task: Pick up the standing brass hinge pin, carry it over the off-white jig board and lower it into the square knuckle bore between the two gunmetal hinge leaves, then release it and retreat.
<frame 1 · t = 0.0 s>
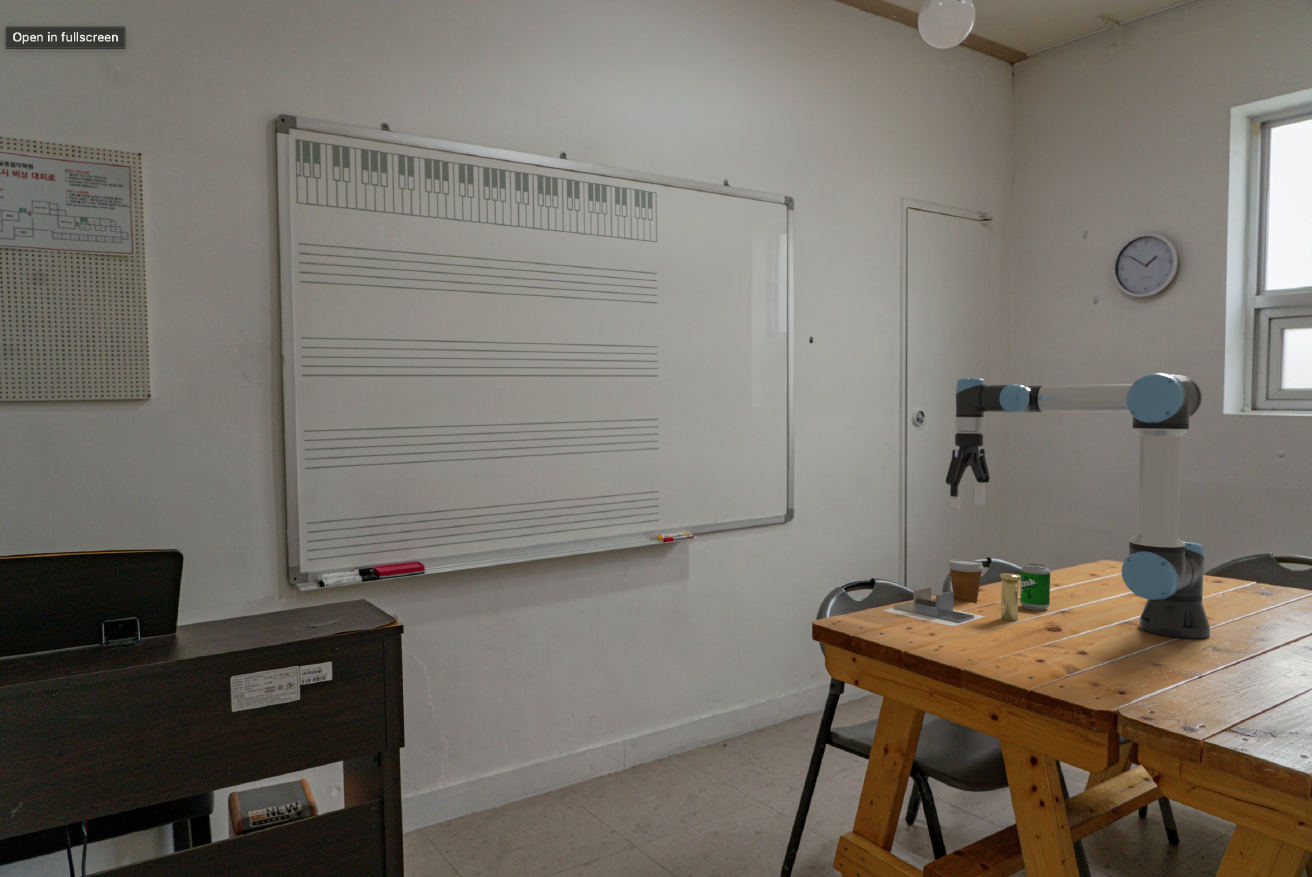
hand: (967, 506, 237), 28 cm above the table, fingers open, 13 cm apart
soda can: (1034, 608, 233), on the table
jig board: (933, 617, 221), on the table
hinge: (933, 613, 221), resting on jig board
disposable coffee cup: (965, 603, 238), on the table
pin: (1009, 624, 215), on the table
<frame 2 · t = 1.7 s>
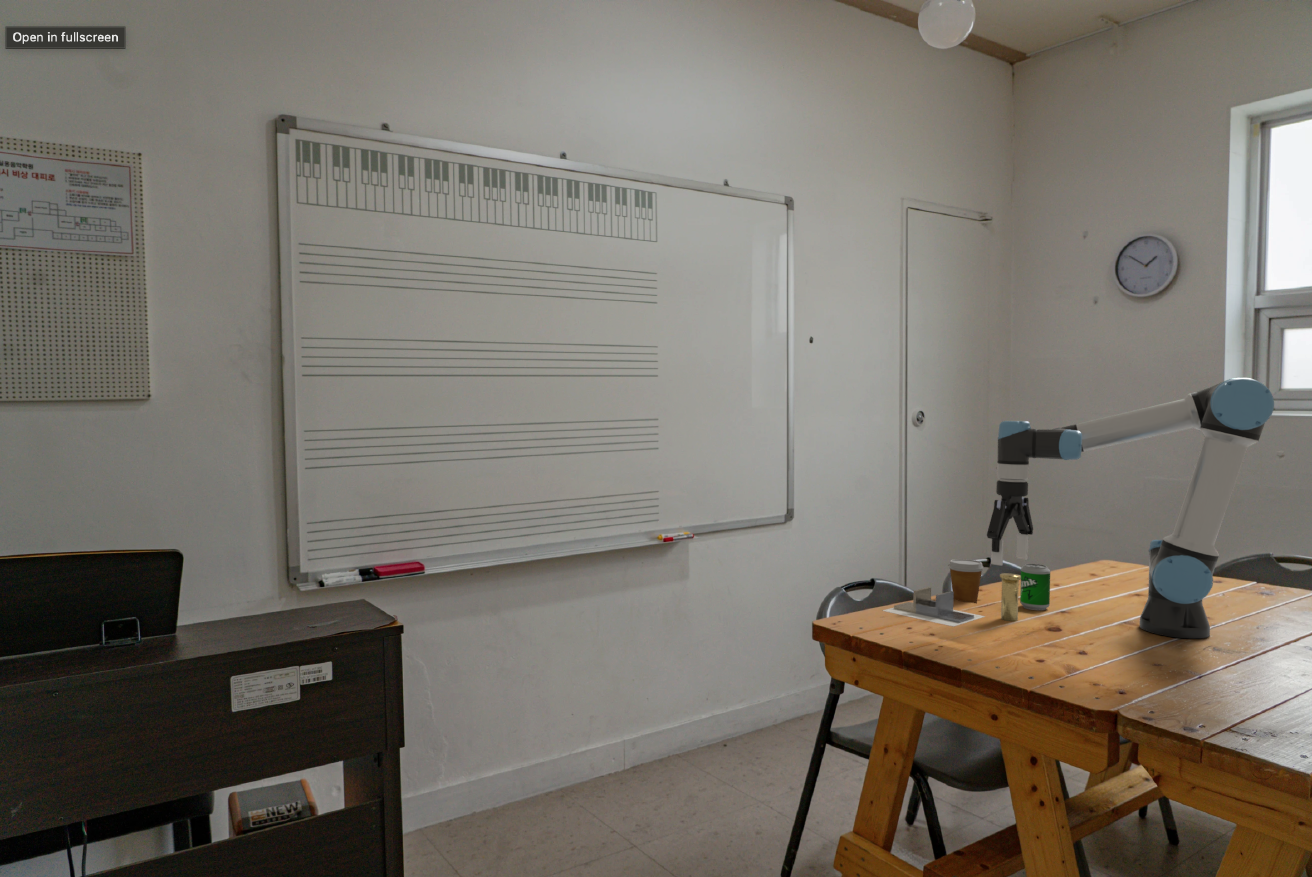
hand: (1009, 561, 215), 16 cm above the table, fingers open, 13 cm apart
nothing on the table moved.
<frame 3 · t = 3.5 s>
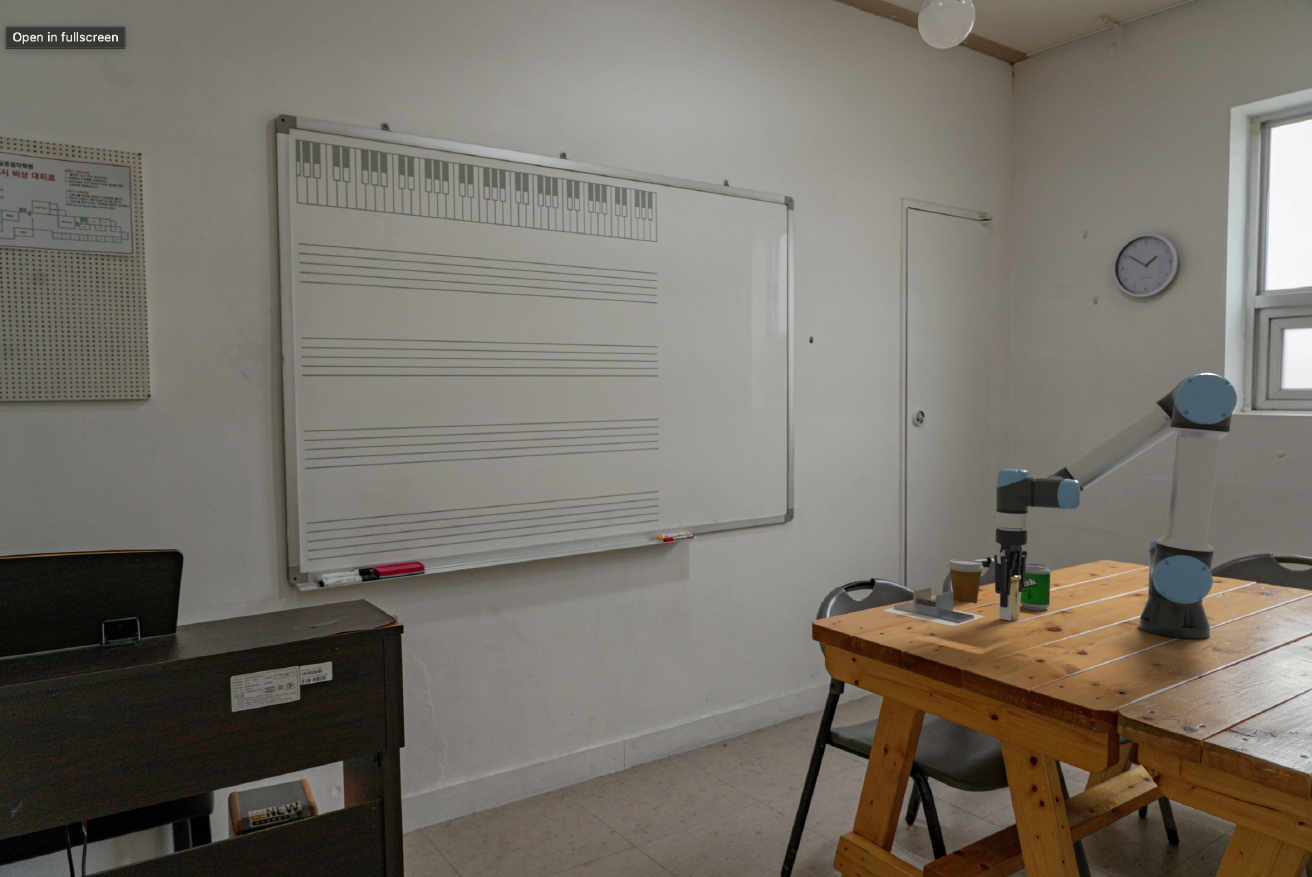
hand: (1009, 617, 215), 2 cm above the table, fingers closed on pin, 4 cm apart
pin: (1009, 623, 215), on the table, touching gripper
everything else where it was.
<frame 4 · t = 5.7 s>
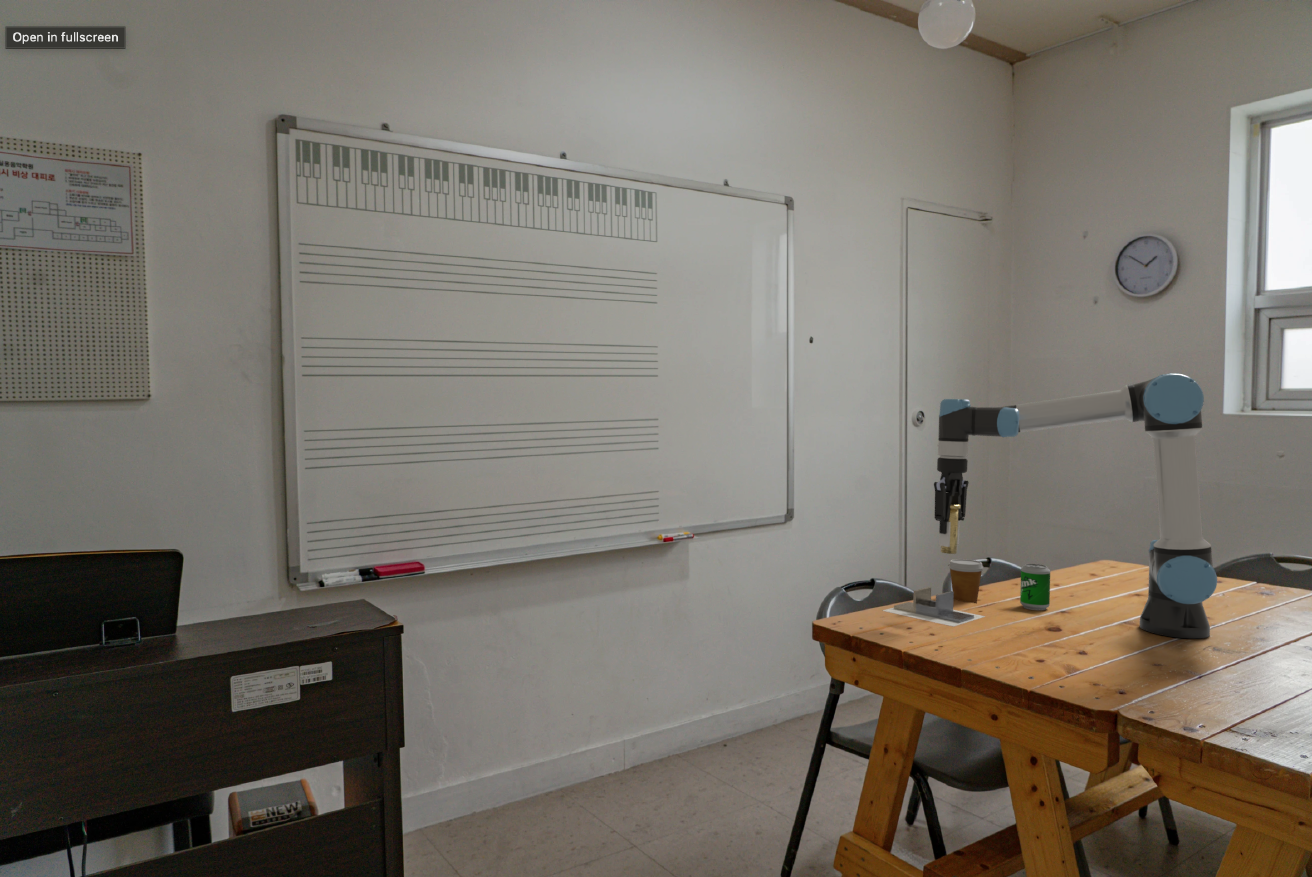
hand: (948, 545, 219), 20 cm above the table, fingers closed on pin, 4 cm apart
pin: (948, 552, 219), point 18 cm above the table, touching gripper
everything else where it was.
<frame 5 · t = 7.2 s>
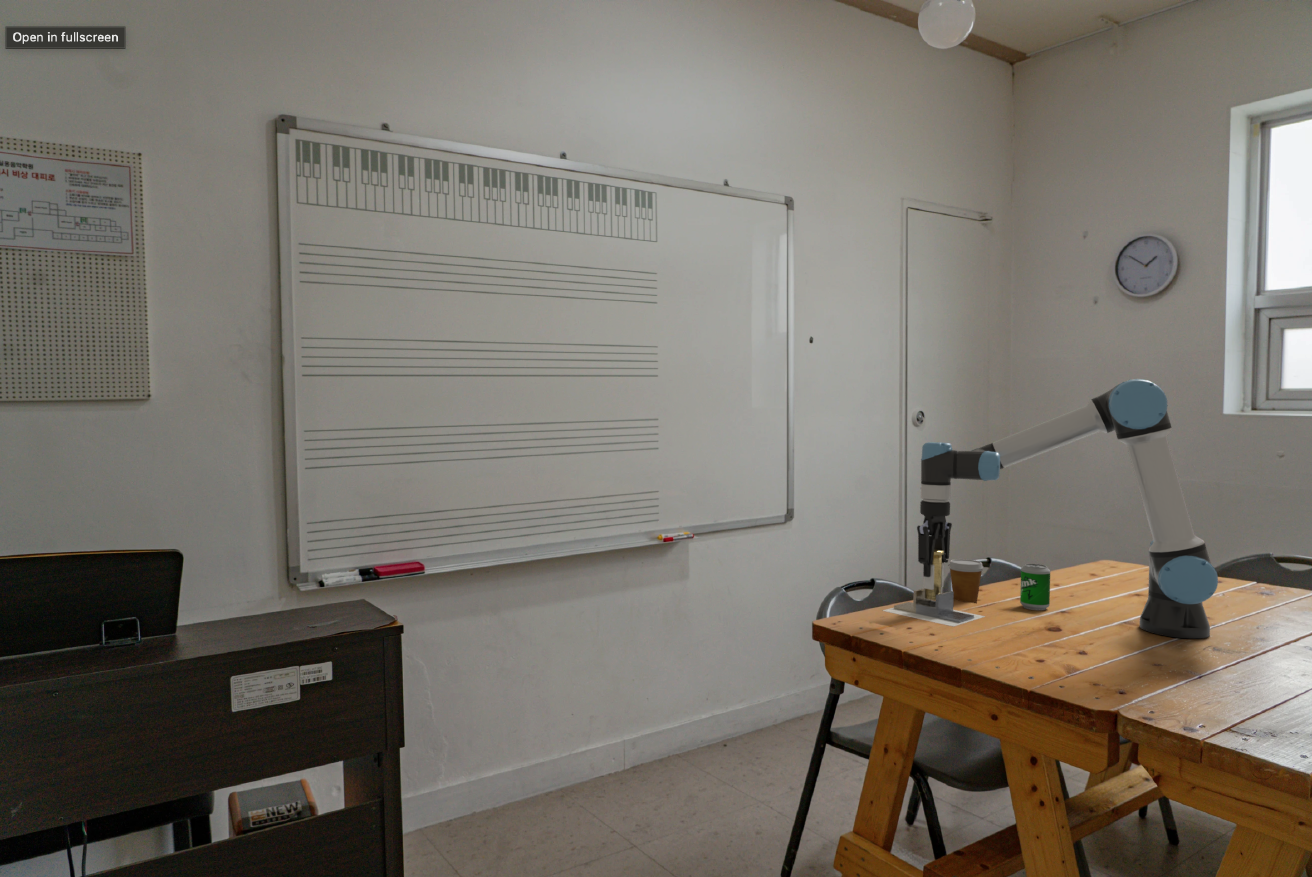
hand: (933, 587, 221), 8 cm above the table, fingers closed on pin, 4 cm apart
pin: (932, 598, 221), point 5 cm above the table, touching gripper
everything else where it was.
when the fingers open (5 cm above the table, at t = 8.0 s): pin drops 1 cm, resting on jig board.
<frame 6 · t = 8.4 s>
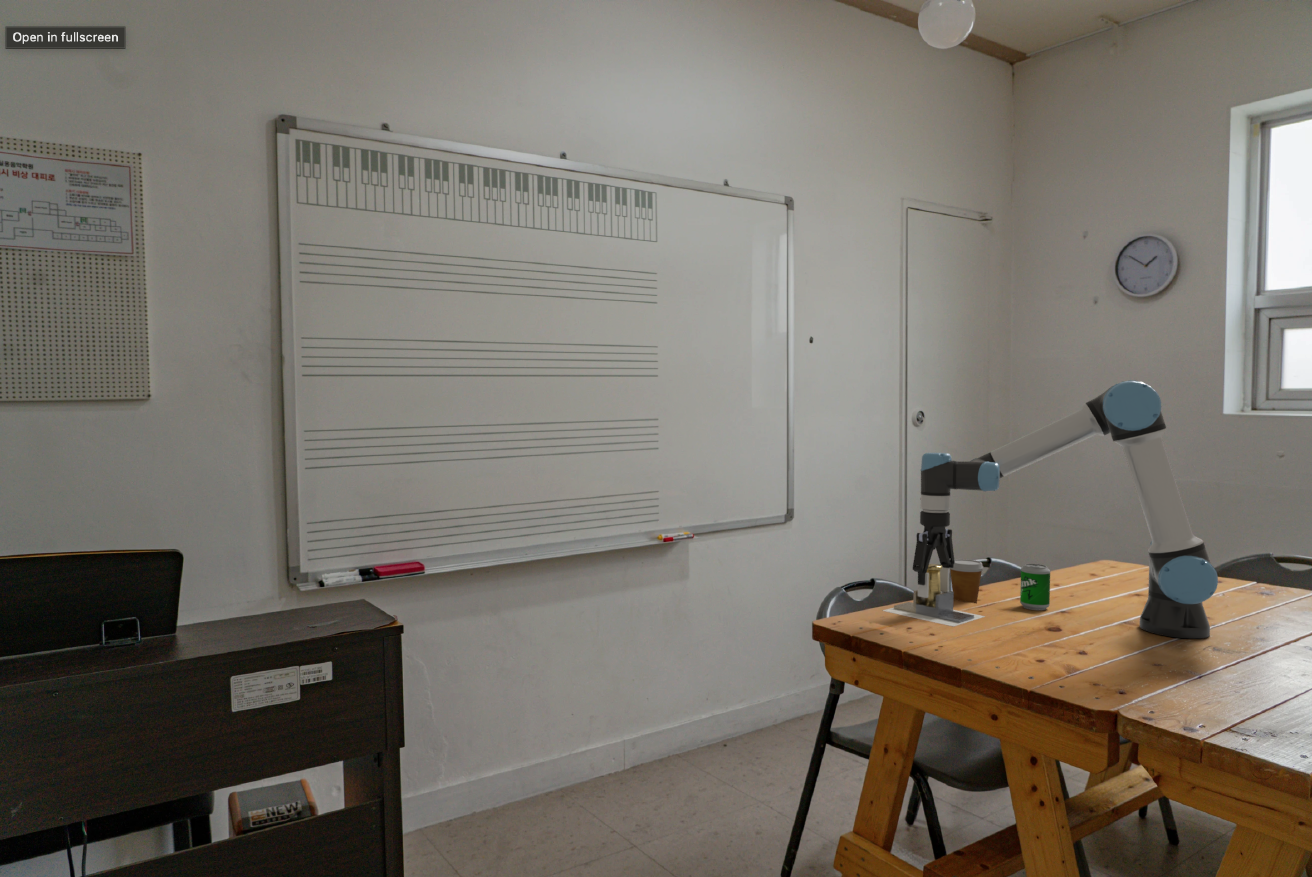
hand: (933, 594, 221), 6 cm above the table, fingers open, 9 cm apart
pin: (933, 613, 221), point 1 cm above the table, touching jig board
everything else where it was.
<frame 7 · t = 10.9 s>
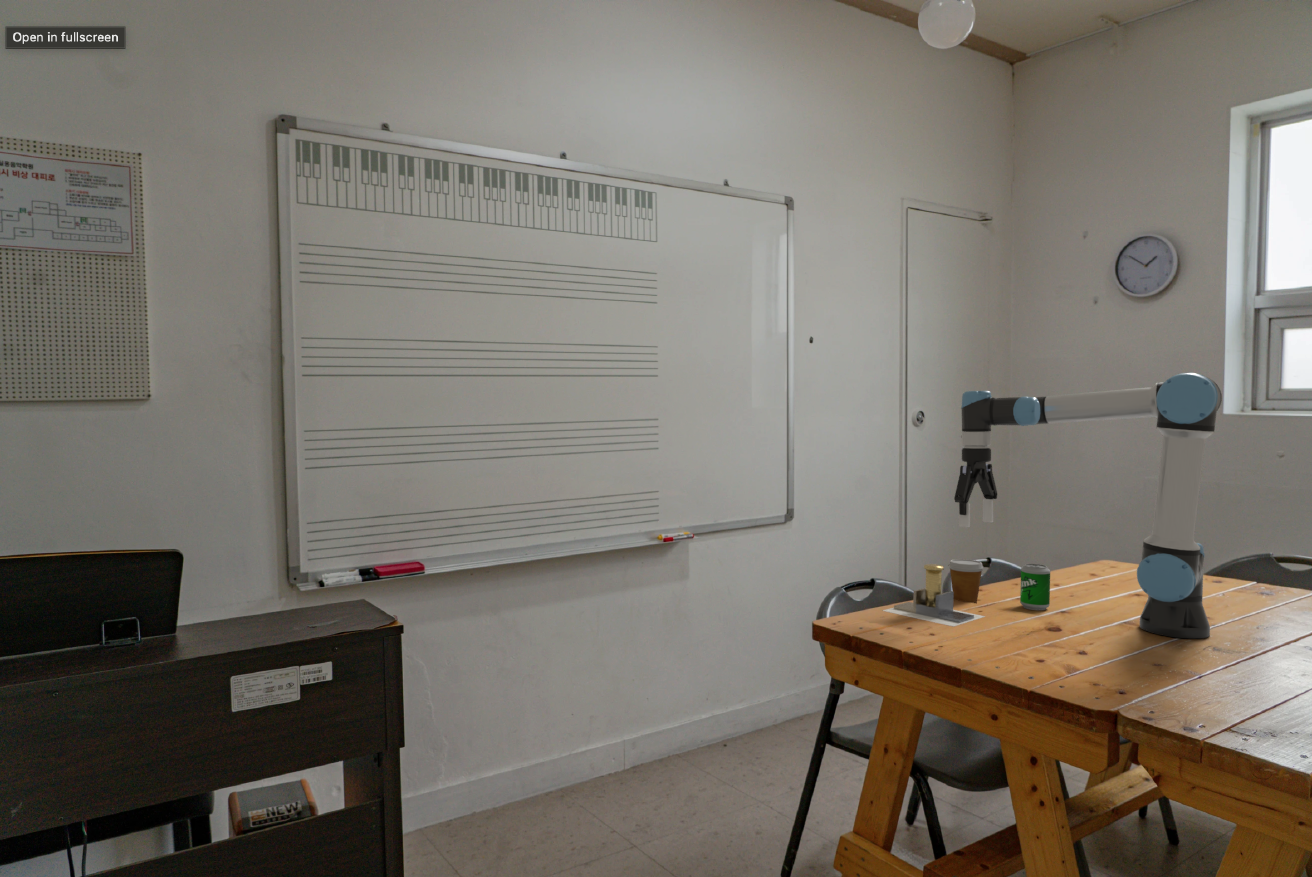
hand: (976, 524, 227), 24 cm above the table, fingers open, 13 cm apart
nothing on the table moved.
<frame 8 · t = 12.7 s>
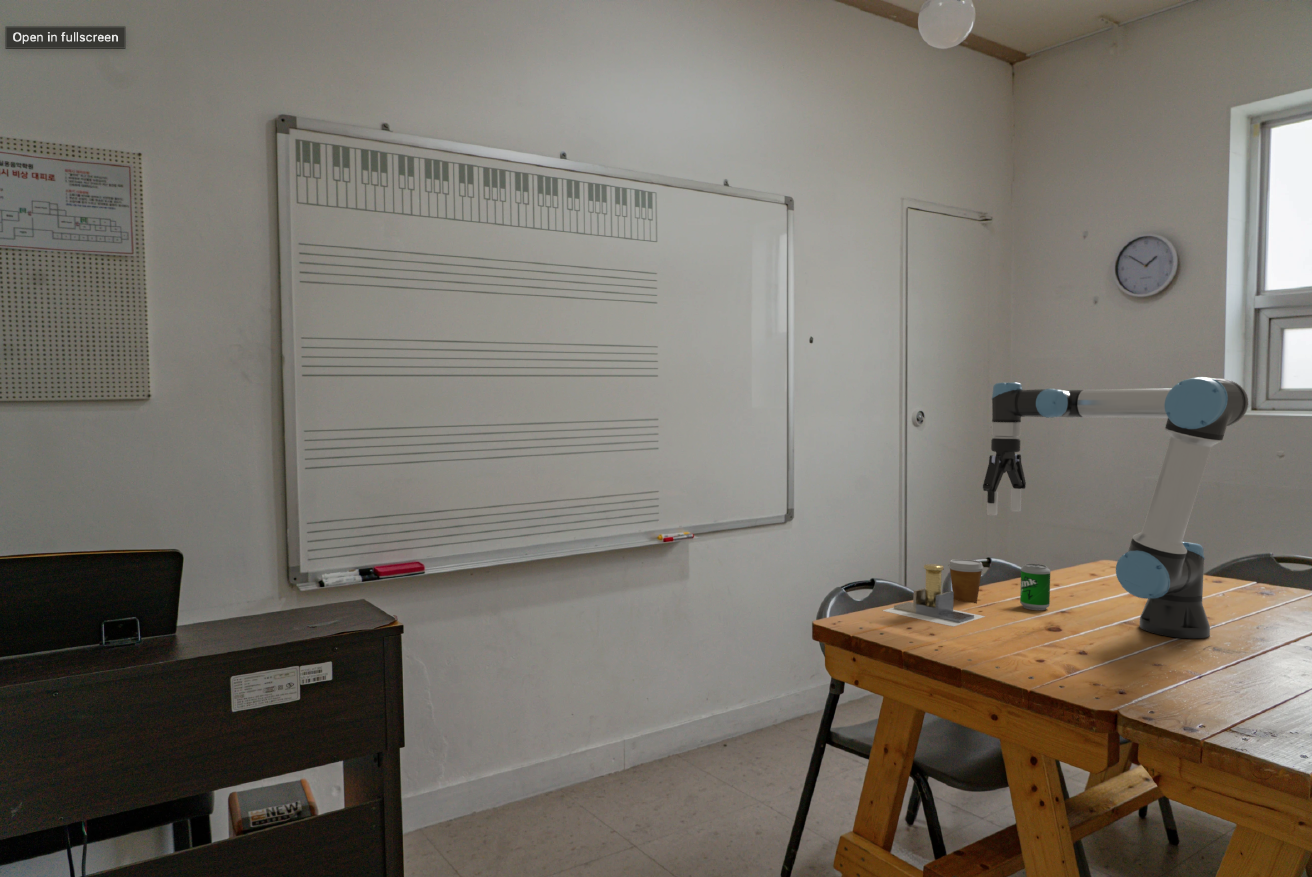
hand: (1004, 513, 232), 27 cm above the table, fingers open, 13 cm apart
nothing on the table moved.
at the end: pin 0.0 cm off-centre on the hinge, point 0.0 cm above the hinge's base; pin tilted 0°; the gripper is holding nothing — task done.
